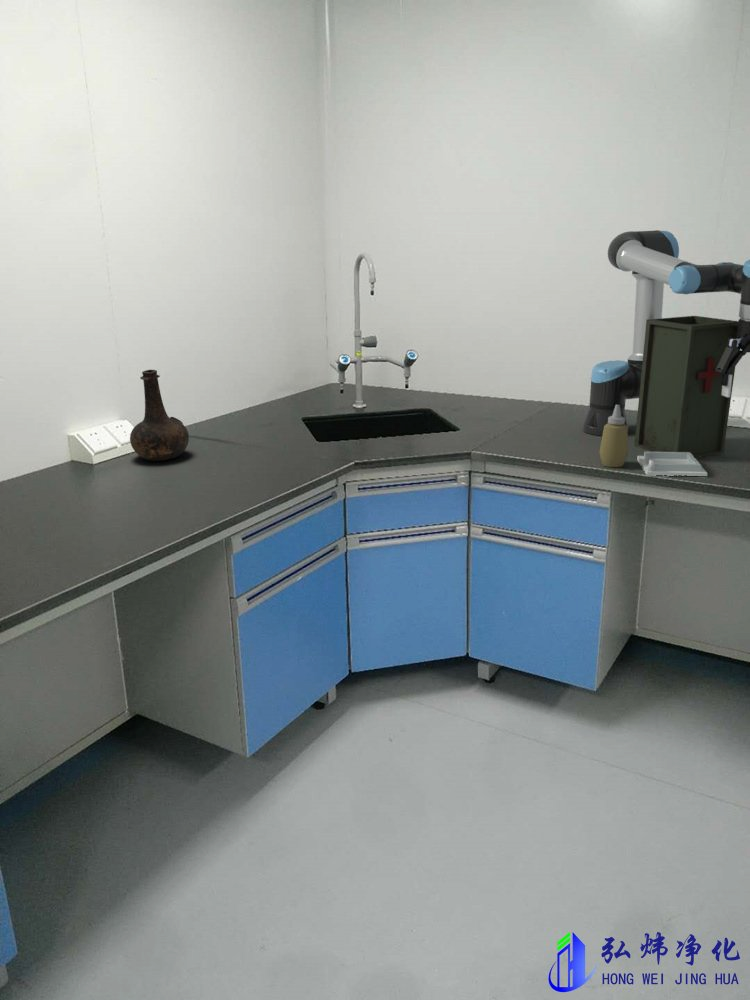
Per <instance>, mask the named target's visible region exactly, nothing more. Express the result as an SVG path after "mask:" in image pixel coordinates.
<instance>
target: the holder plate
mask: <svg viewBox="0 0 750 1000" xmlns="http://www.w3.org/2000/svg"><path fill="white" fill-rule="evenodd" d="M636 459H637V462H638V464H639V465H640V467H641V466H642V467H641V468H642V471H645V472H644V473H645V475H646V476H647V477H657V476H656V475H663V476H662V477H665V476H664V475H667V476H666V477H669V476H674V475H677V476H678V475H682V476H684V475H687V476H707V477H708V472H707V471H706V470H705V468H703V466H702V464H701V463H700V462H699V461H698V460H697V458H694V456H693V455H692V454H691V453H690V452H650V451H644V452H643V455H637V458H636Z"/></svg>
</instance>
